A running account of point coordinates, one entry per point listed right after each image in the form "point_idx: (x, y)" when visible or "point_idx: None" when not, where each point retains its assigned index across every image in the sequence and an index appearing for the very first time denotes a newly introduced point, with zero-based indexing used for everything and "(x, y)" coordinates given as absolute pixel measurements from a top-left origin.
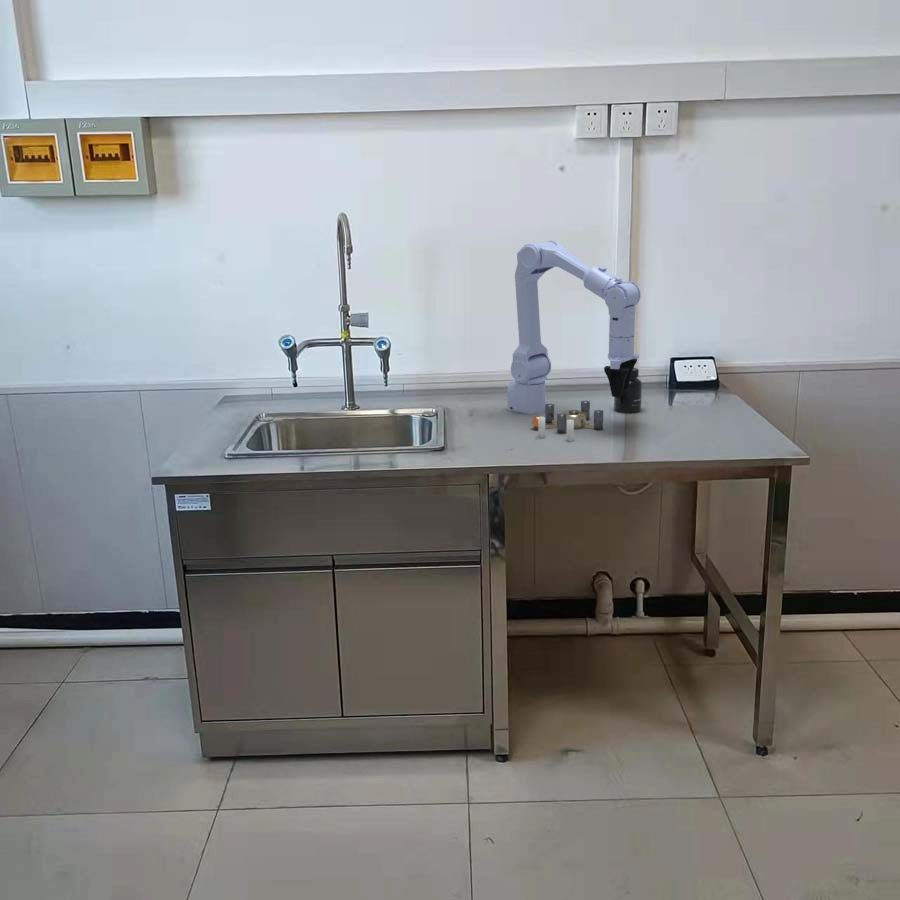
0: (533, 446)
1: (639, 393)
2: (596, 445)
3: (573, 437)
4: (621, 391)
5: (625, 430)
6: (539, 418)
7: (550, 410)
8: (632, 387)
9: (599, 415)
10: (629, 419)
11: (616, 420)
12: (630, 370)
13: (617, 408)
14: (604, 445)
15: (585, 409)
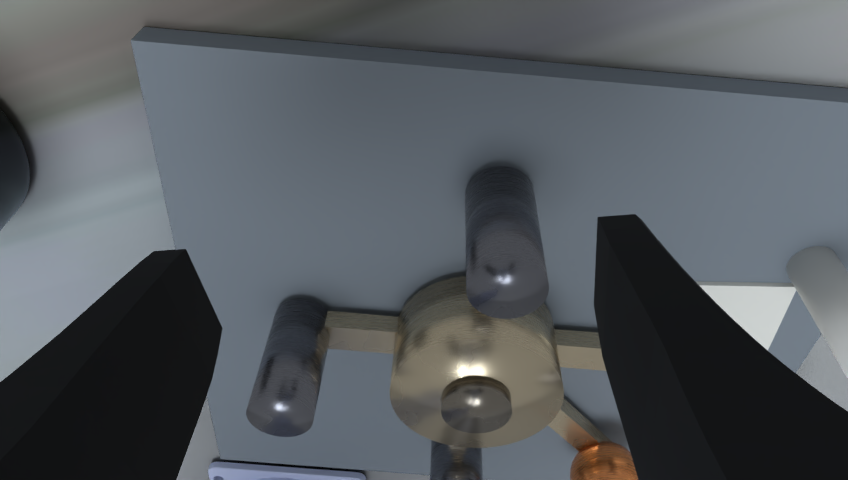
0: (828, 382)
1: None
2: None
3: (833, 265)
4: (671, 264)
5: (319, 25)
6: None
7: None
8: None
9: (543, 256)
10: (24, 87)
11: (115, 161)
12: (21, 469)
13: (1, 219)
14: (776, 51)
15: (317, 369)
